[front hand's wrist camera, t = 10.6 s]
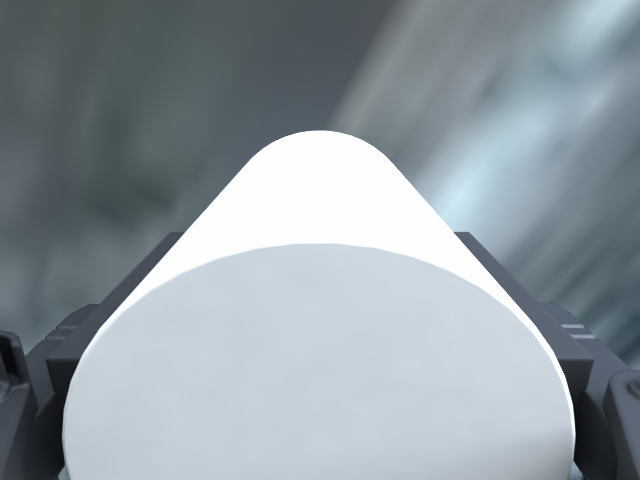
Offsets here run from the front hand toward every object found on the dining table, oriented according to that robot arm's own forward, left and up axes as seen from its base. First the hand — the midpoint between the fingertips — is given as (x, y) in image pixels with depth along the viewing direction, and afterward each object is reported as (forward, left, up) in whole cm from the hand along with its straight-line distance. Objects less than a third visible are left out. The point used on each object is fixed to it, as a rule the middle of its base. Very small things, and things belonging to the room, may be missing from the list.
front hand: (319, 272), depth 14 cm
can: (0, 0, -4) cm, 4 cm away
